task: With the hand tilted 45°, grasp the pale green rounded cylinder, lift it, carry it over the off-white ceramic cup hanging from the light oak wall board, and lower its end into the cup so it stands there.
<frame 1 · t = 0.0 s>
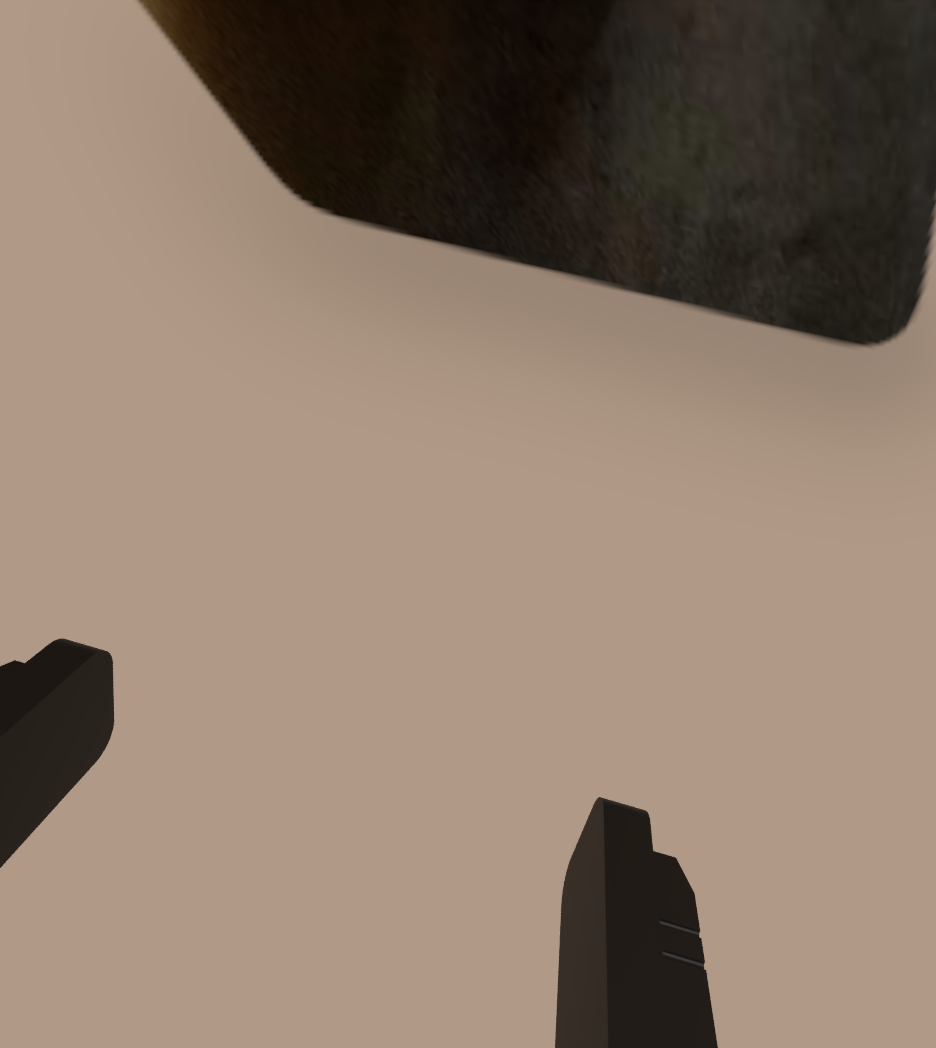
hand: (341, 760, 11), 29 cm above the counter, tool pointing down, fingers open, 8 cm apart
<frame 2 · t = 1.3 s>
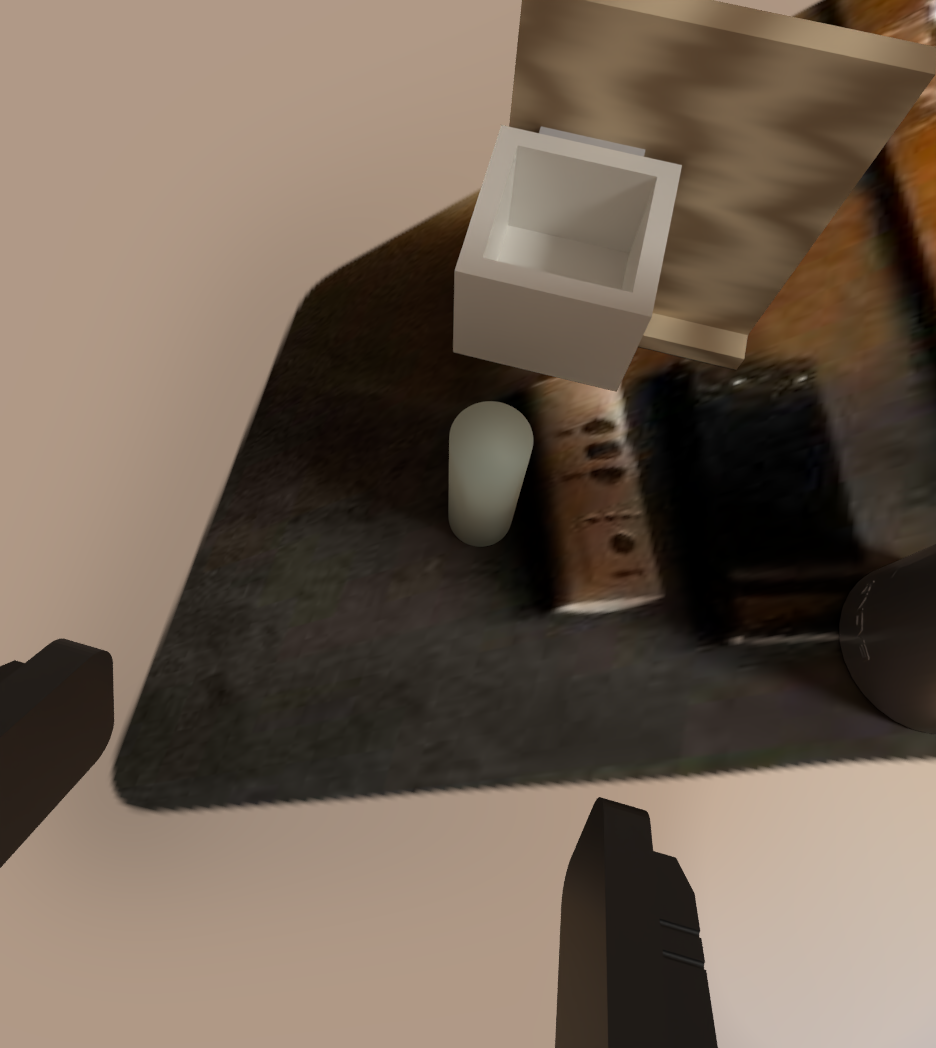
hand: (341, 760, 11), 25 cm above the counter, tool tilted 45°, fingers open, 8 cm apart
oak board: (617, 307, 43), on the counter
pale green rounded cylinder: (480, 516, 38), on the counter
hanging cup: (537, 365, 42), resting on oak board
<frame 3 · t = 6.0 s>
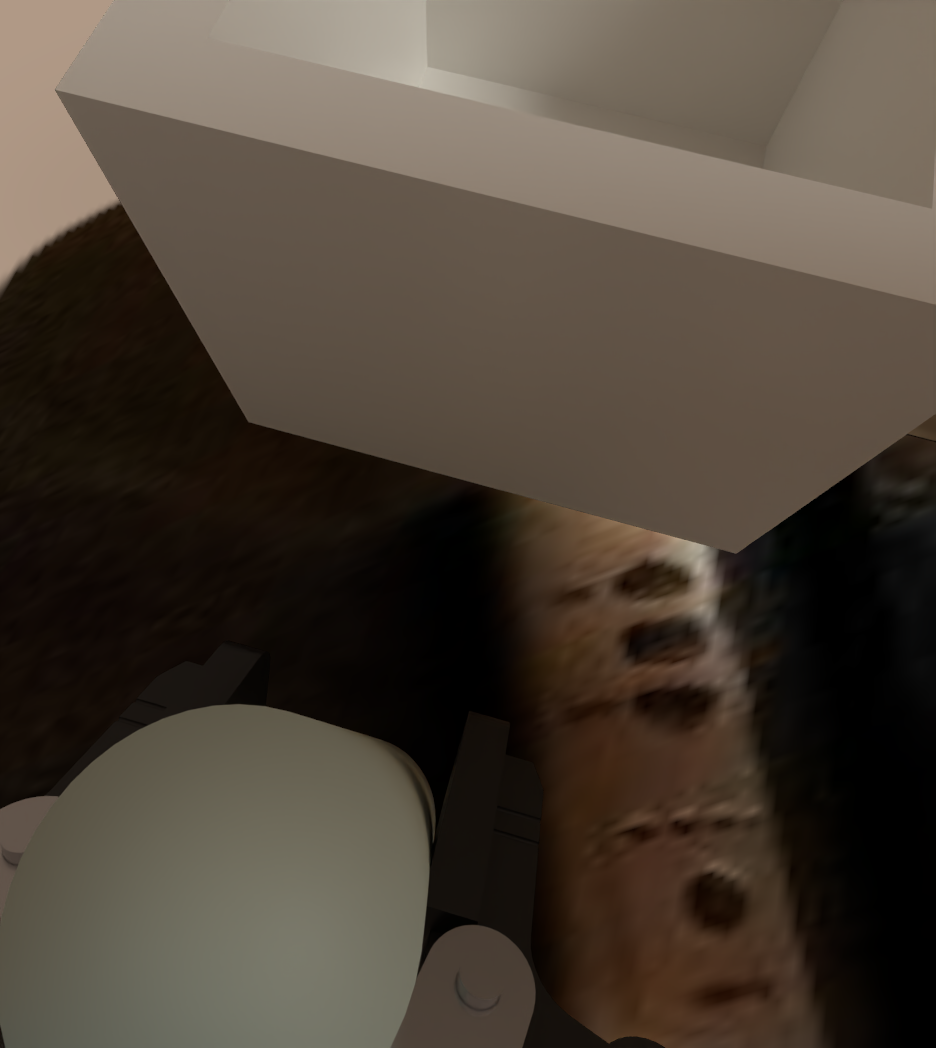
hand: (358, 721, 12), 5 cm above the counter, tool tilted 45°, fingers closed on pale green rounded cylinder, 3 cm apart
oak board: (689, 304, 20), on the counter
pale green rounded cylinder: (355, 820, 15), on the counter, touching gripper
hanging cup: (514, 429, 19), resting on oak board
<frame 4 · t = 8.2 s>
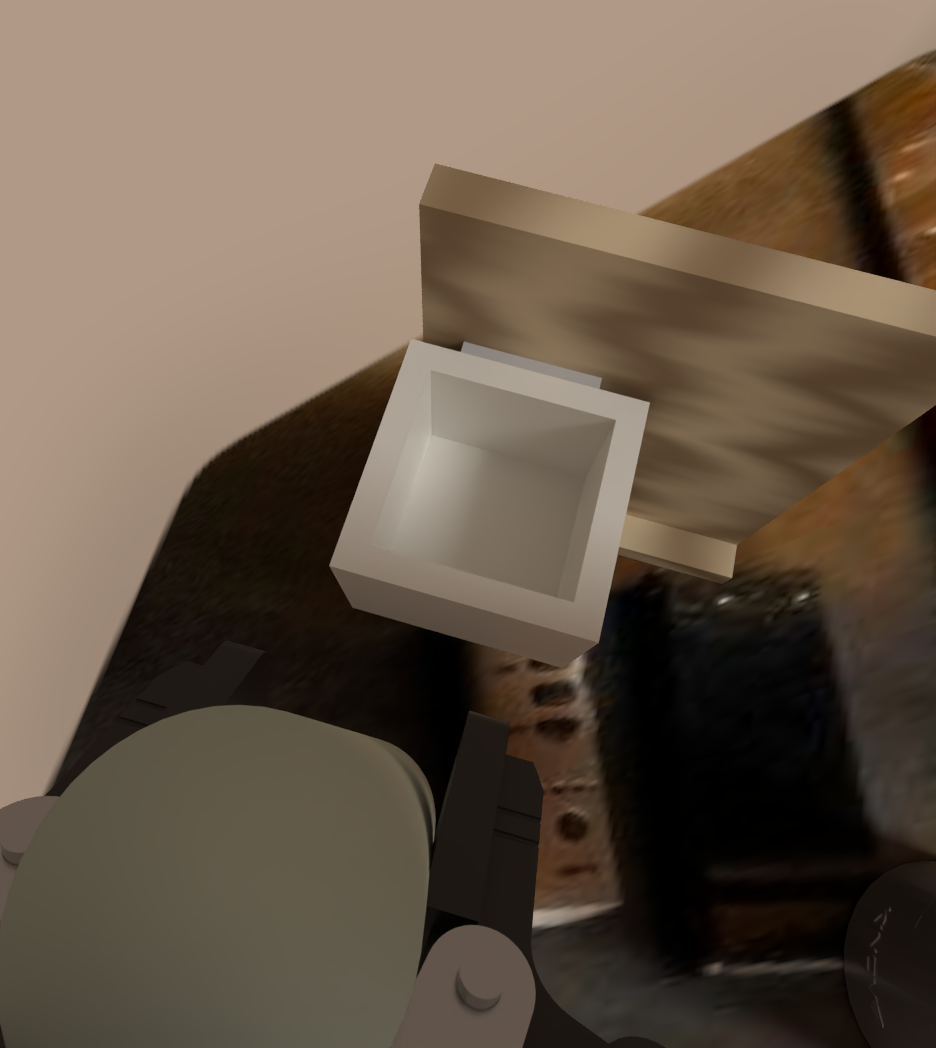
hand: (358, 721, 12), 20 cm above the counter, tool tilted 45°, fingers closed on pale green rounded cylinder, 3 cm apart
oak board: (578, 497, 35), on the counter
pale green rounded cylinder: (355, 820, 15), point 16 cm above the counter, touching gripper
hanging cup: (476, 574, 34), resting on oak board
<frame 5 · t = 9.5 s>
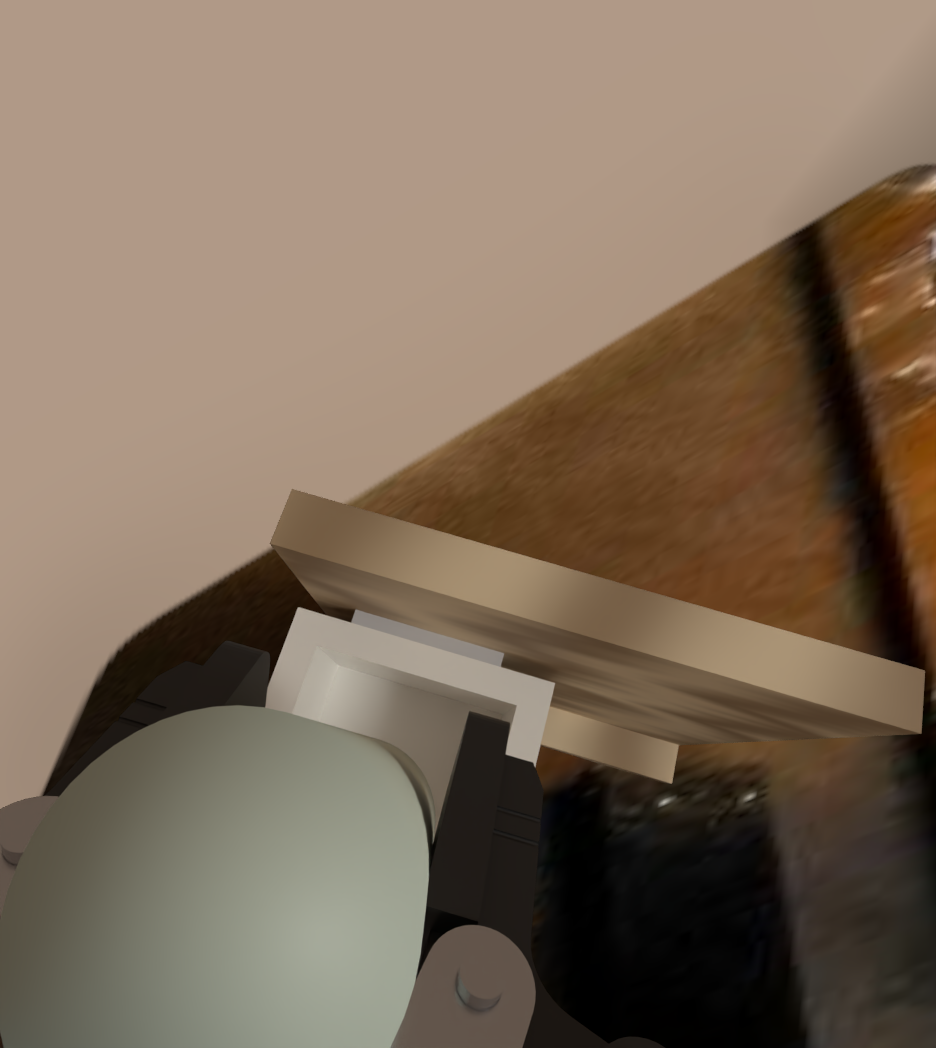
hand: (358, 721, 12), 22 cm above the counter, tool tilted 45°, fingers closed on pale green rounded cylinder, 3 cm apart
oak board: (514, 682, 33), on the counter
pale green rounded cylinder: (355, 820, 15), point 17 cm above the counter, touching gripper
hanging cup: (402, 773, 32), resting on oak board
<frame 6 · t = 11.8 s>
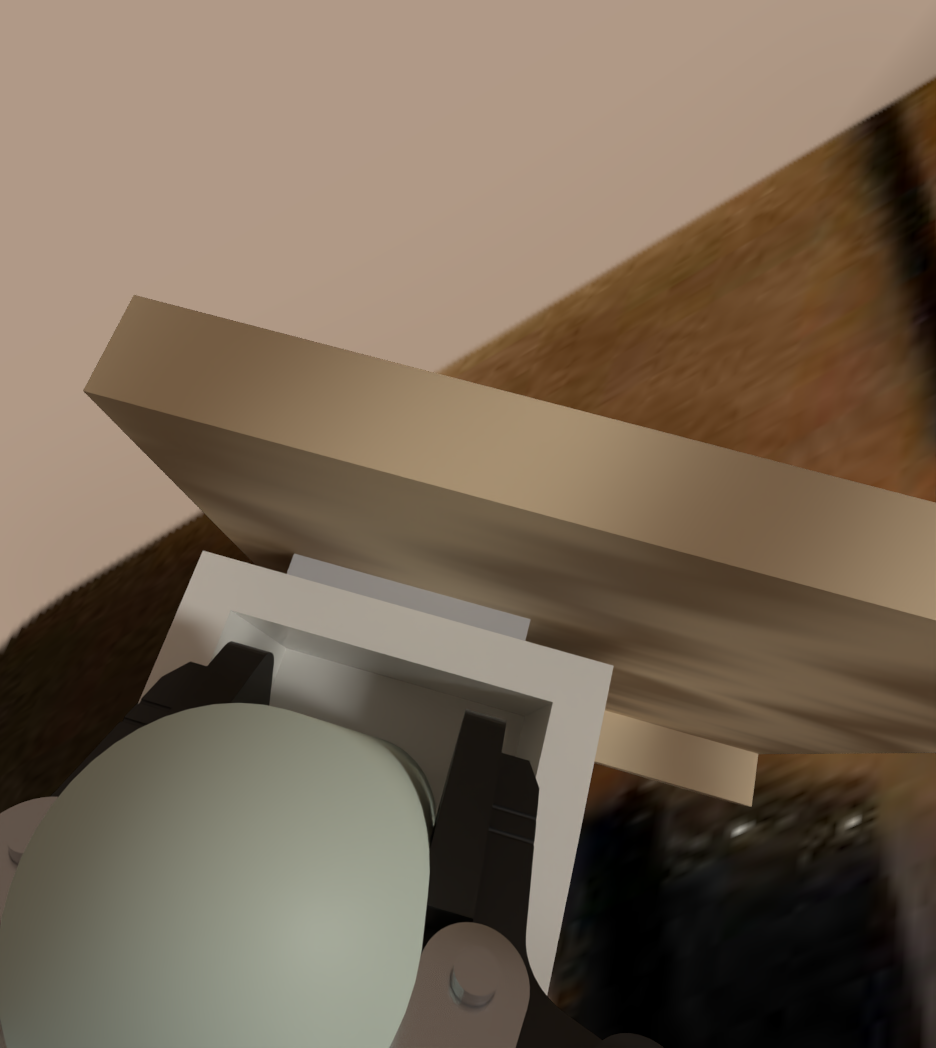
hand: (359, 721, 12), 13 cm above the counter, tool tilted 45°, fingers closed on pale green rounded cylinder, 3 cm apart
oak board: (535, 673, 25), on the counter
pale green rounded cylinder: (356, 819, 15), point 9 cm above the counter, touching gripper
hanging cup: (387, 795, 24), resting on oak board
when the fingers open (13 cm above the counter, at t = 11.9 s): pale green rounded cylinder drops 2 cm, resting on hanging cup.
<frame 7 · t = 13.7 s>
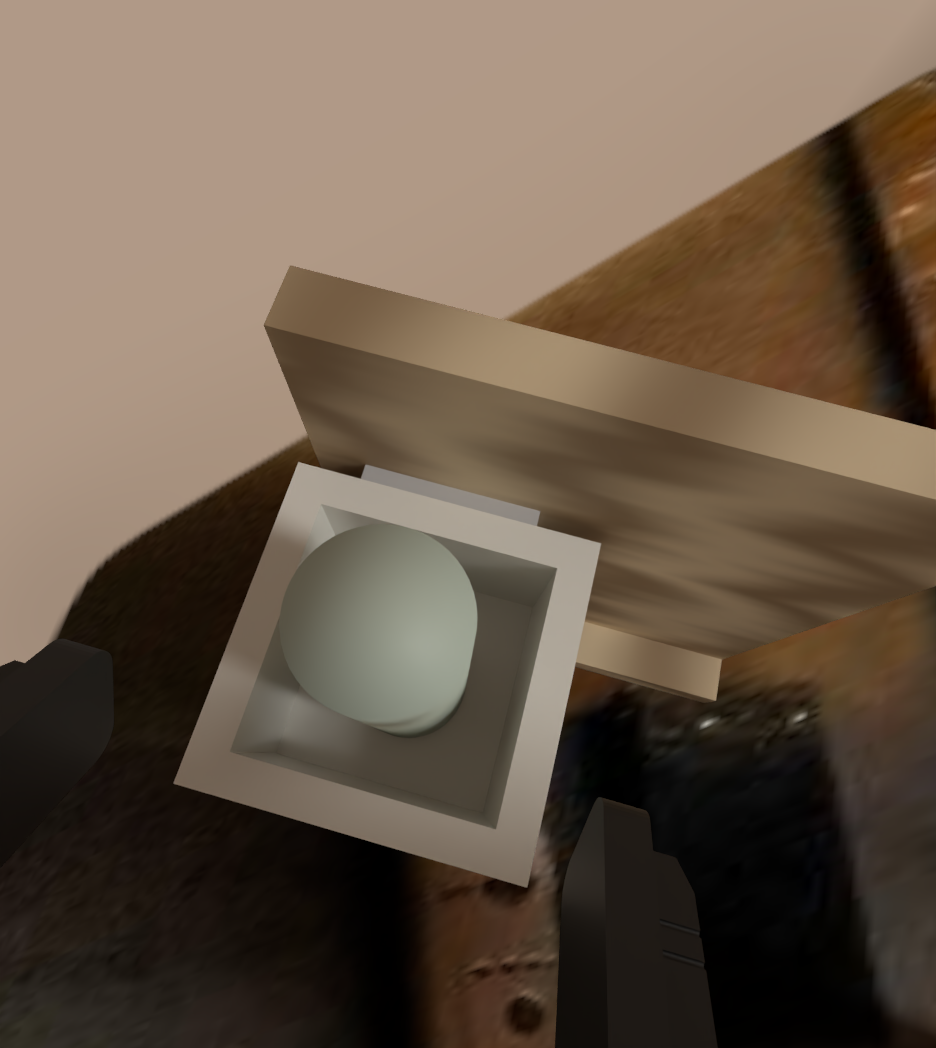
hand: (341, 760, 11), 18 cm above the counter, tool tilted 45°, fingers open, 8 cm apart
oak board: (537, 598, 30), on the counter
pale green rounded cylinder: (410, 679, 22), point 7 cm above the counter, touching hanging cup
hanging cup: (416, 696, 29), resting on oak board
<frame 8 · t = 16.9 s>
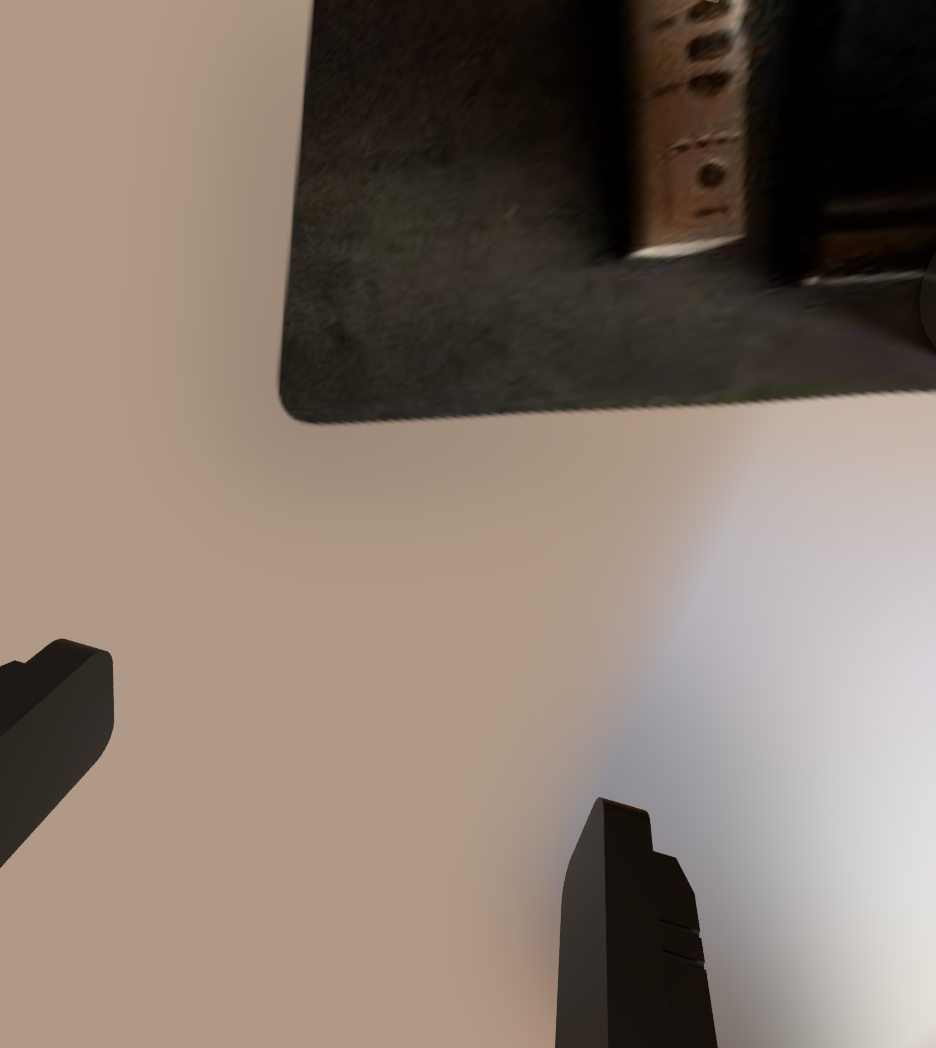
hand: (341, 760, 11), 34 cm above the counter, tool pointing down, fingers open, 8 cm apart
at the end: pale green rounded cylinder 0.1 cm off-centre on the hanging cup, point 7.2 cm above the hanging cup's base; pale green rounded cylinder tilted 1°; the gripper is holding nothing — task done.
